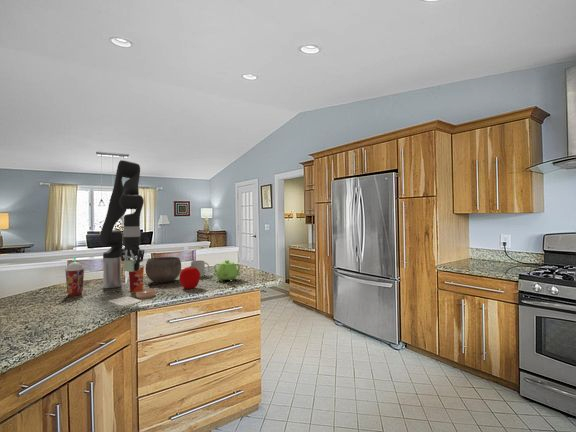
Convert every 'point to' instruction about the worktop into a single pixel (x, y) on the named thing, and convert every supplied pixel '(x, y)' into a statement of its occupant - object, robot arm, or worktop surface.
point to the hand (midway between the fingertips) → (132, 270)
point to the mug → (200, 266)
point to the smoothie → (74, 278)
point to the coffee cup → (136, 279)
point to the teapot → (227, 270)
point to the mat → (124, 300)
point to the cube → (129, 265)
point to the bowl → (163, 268)
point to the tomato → (189, 277)
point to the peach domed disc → (145, 293)
